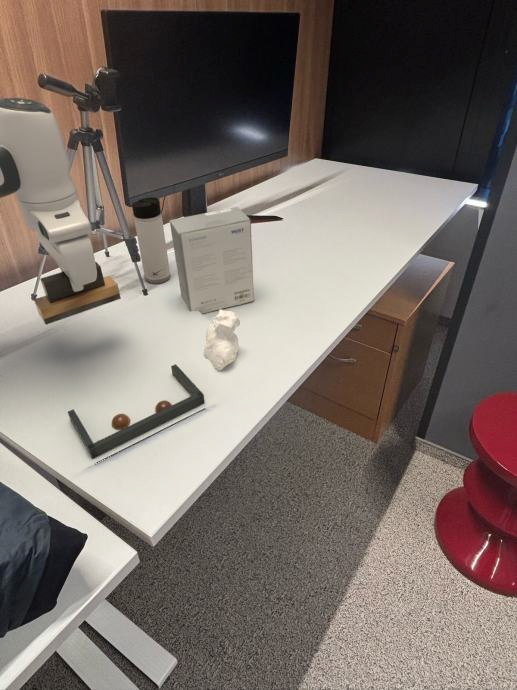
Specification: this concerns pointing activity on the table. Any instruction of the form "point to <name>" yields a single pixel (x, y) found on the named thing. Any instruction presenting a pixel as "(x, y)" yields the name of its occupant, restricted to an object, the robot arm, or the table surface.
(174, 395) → the table surface
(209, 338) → the bust
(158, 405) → the brown ball
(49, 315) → the brush
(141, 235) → the travel mug
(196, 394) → the catcher
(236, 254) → the hard drive box
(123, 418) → the brown chestnut
